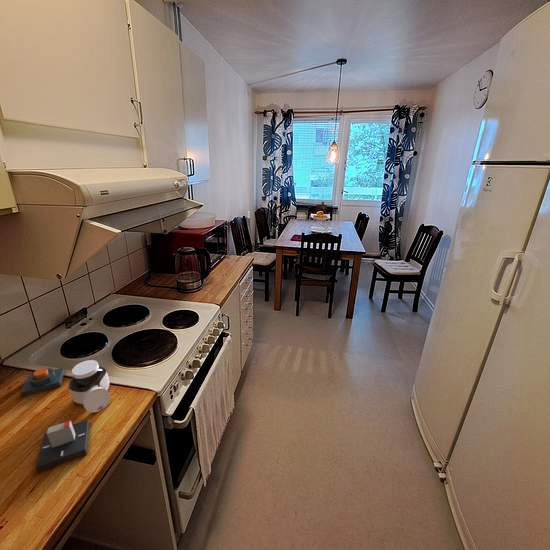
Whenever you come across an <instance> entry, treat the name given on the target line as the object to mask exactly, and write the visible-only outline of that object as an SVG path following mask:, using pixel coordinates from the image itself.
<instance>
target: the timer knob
mask: <svg viewBox="0 0 550 550" xmlns="http://www.w3.org/2000/svg"><path fill="white" fill-rule="evenodd" d="M72 424H73V423H72V420H66V421H65V422H63V423H58V424H55V425H53V426H50V427H47V430H46V431H47V432H46V433H47V436H48V438H49V441H50V443H51V446H52V448H53V447H56V446H59V445H62V444H65V443H68V442H71V441H74V440H75V431H74V428H73V426H72Z"/></svg>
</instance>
